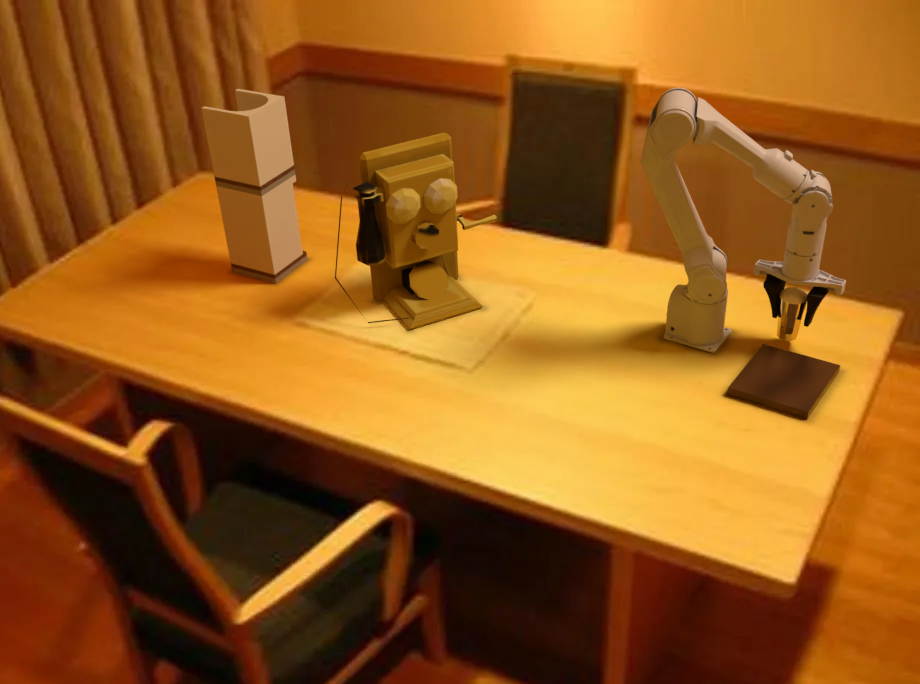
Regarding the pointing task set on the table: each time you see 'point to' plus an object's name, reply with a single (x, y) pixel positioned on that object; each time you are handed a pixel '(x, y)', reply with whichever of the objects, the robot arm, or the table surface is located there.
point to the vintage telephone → (412, 230)
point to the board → (784, 381)
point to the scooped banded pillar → (256, 185)
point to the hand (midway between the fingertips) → (792, 319)
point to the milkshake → (790, 312)
